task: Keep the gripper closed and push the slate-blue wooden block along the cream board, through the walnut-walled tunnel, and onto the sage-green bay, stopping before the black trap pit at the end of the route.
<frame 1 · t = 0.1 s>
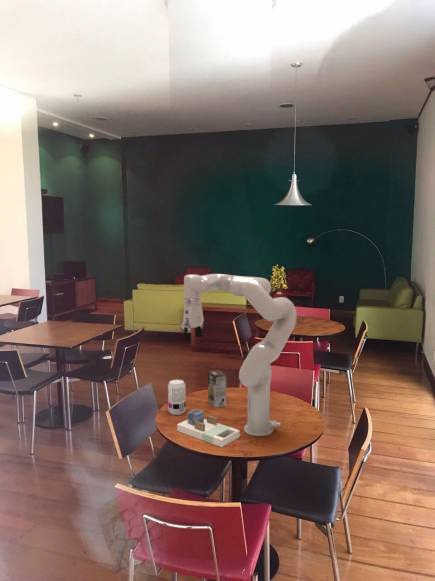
hand: (193, 338, 214), 37 cm above the table, tool pointing down, fingers open, 9 cm apart
coffee box: (217, 404, 235), on the table
route board: (207, 433, 200), on the table
block: (195, 423, 204), point 3 cm above the table, touching route board
supplement can: (177, 412, 225), on the table
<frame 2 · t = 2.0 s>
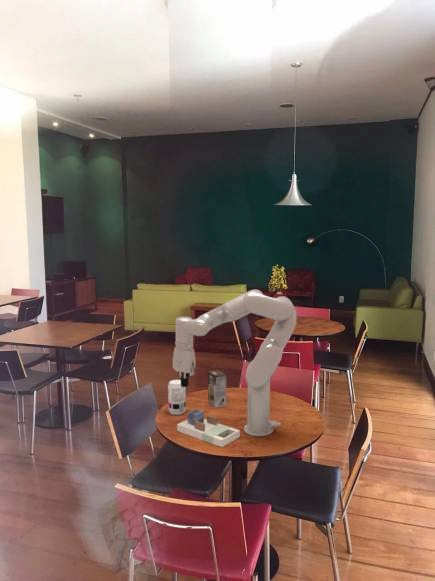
hand: (184, 386, 206), 18 cm above the table, tool pointing down, fingers closed
nothing on the table moved.
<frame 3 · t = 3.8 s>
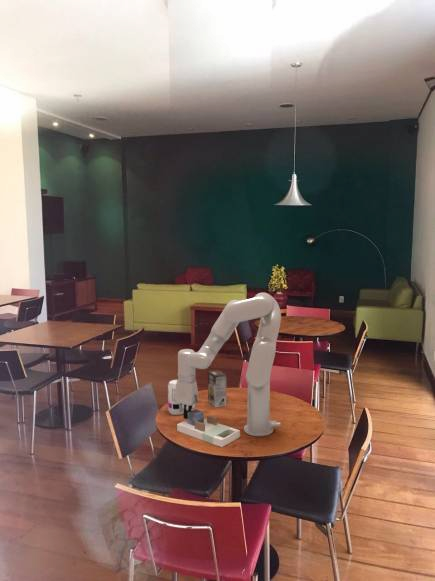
hand: (187, 417, 207), 4 cm above the table, tool pointing down, fingers closed
block: (195, 423, 204), point 3 cm above the table, touching gripper
everything else where it was.
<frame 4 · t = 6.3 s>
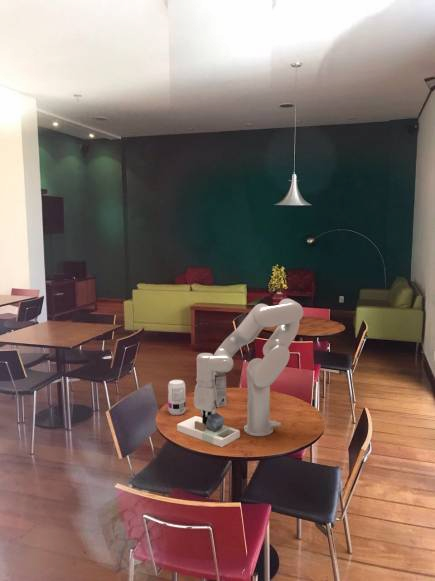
hand: (206, 424, 200), 4 cm above the table, tool pointing down, fingers closed
block: (213, 426, 198), point 4 cm above the table, tilted 19°, touching gripper
everything else where it was.
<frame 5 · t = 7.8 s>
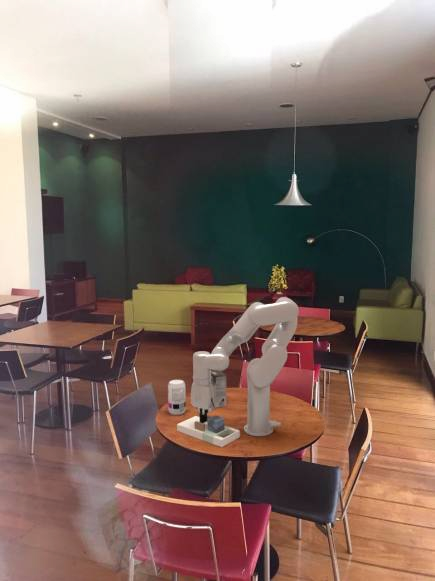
hand: (203, 421, 201), 5 cm above the table, tool pointing down, fingers closed
block: (216, 429, 197), point 3 cm above the table, touching route board
everything else where it was.
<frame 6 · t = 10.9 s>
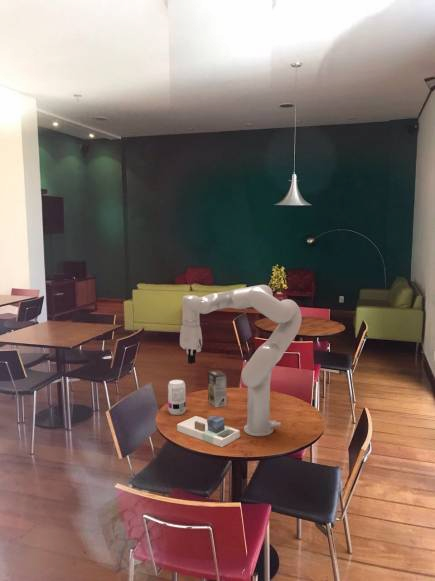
hand: (191, 363, 211), 27 cm above the table, tool pointing down, fingers closed
nothing on the table moved.
at the end: block 0.6 cm from the target spot on the route board, point 3.0 cm above the route board's base; block tilted 0° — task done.
